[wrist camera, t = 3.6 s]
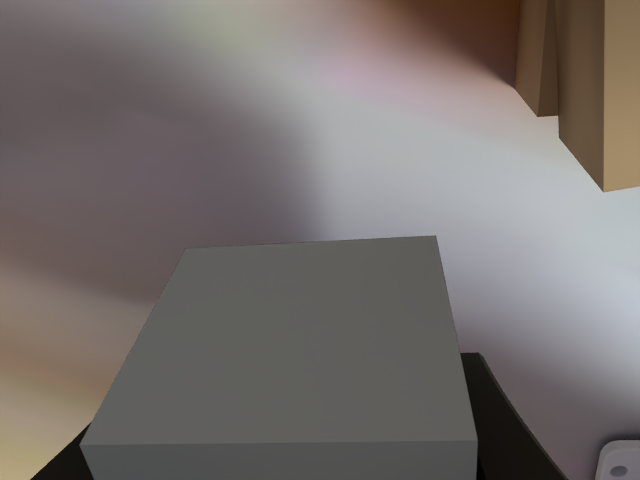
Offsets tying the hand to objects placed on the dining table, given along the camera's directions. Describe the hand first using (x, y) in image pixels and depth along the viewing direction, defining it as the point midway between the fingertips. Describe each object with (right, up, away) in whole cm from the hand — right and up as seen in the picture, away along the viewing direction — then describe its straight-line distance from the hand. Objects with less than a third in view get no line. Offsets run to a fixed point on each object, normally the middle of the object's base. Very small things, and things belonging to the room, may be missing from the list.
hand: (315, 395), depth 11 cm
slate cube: (0, +1, +1) cm, 2 cm away
